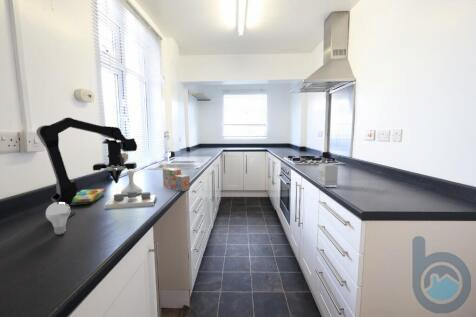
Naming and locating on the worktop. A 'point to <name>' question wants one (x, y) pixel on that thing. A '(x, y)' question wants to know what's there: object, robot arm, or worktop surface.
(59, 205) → the light bulb
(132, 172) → the flower in vase
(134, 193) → the button middle
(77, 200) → the puzzle game
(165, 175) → the stack of blocks
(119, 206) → the button board
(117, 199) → the button near
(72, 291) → the worktop surface
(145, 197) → the button far
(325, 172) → the supplement box
